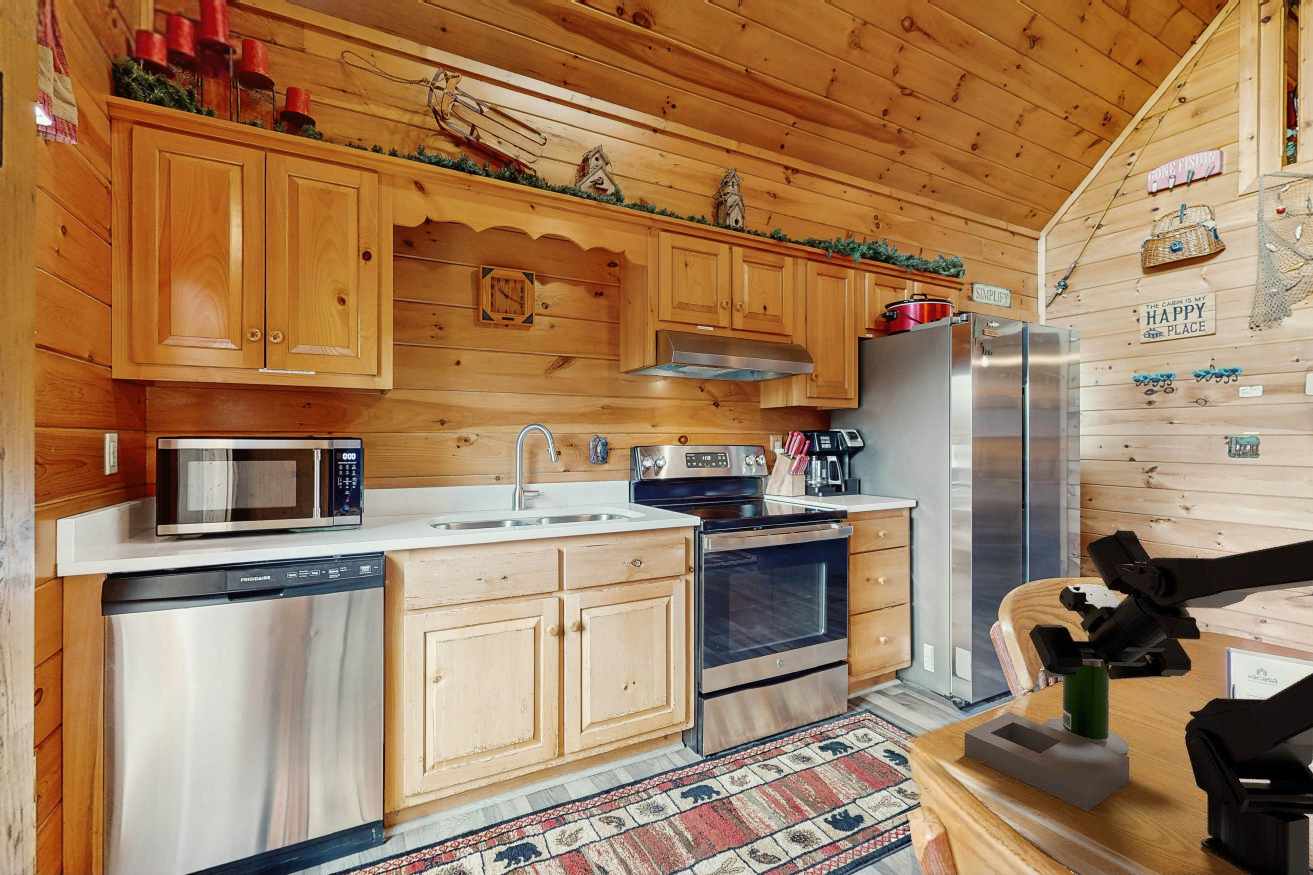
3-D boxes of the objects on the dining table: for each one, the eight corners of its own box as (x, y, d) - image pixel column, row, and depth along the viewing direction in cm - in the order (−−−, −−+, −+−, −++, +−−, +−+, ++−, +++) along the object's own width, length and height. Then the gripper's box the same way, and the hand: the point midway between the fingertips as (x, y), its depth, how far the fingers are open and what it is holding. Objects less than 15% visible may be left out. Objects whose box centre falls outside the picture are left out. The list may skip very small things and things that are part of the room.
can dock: (1129, 780, 73) (1129, 756, 73) (1088, 811, 67) (1088, 785, 67) (1009, 732, 86) (1009, 711, 86) (964, 754, 79) (964, 732, 79)
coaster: (1146, 752, 80) (1146, 748, 80) (1091, 761, 78) (1091, 756, 78) (1078, 719, 90) (1078, 715, 90) (1026, 726, 88) (1026, 722, 88)
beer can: (1080, 744, 81) (1081, 659, 81) (1053, 725, 87) (1054, 645, 87) (1118, 744, 81) (1119, 659, 81) (1089, 725, 87) (1089, 646, 87)
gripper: (1173, 571, 80) (1112, 626, 91) (1037, 568, 81) (993, 623, 92) (1228, 647, 72) (1154, 698, 83) (1077, 643, 73) (1023, 694, 84)
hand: (1077, 675), depth 86 cm, fingers open, 9 cm apart
